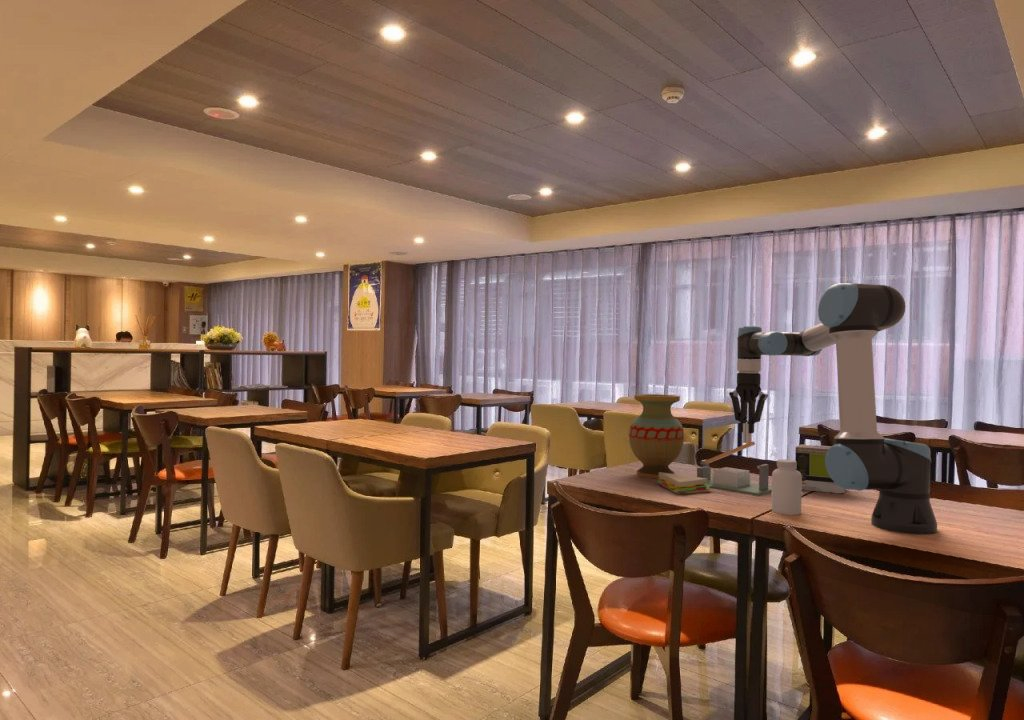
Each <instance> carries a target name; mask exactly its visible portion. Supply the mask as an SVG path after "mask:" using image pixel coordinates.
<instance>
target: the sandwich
mask: <svg viewBox="0 0 1024 720" xmlns="http://www.w3.org/2000/svg"><path fill="white" fill-rule="evenodd" d="M657 482H658V484H659V485H661V487H662V486H663V487H664V488H666V489H668V490H670V491H672V492H673V493H675V494H677V495H681V494H693V493H705V492H710V489H708V488H710V487H711V485H707V483H708V479H707V478H700V477H697V476H691V475H683V474H676V473H675V474H669V473H662V472H659V478H658V480H657Z"/></svg>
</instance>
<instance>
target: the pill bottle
mask: <svg viewBox="0 0 1024 720" xmlns="http://www.w3.org/2000/svg"><path fill="white" fill-rule="evenodd" d="M796 466H797V462H796V461H795V460H793V459H777V460H776V467H777V468H775V469H774V470H773V471H772V473H771V486H772V492H771V511H772V512H773V513H776V514H779V515H785V516H787V515H788V516H798V515H801V514H802V498H803V497H802V495H803V494H802V491H803V489H802V475H801V473H800V472H799V471H797V470H796V469H797V467H796Z"/></svg>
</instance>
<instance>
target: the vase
mask: <svg viewBox="0 0 1024 720" xmlns="http://www.w3.org/2000/svg"><path fill="white" fill-rule="evenodd" d="M680 397H681V396H680V395H677V394H676V395H673V394H653V393H651V394H650V393H648V394H647V393H641V394H640V393H639V394H634V397H633V398H634V400H635V401H638V402H639V403H640V404H641V405H642V411H641V413H640V415H638V416H637V417H636V418H635V419H634V420H633V421H631V423H630V426H629V429H628V442H629V445H630V449H631V450H632V453H633V455H634V456H635V457H636V458H637V459H638V461H640V463H641V464H642V467H640V468H638V469H637V470H636V475H637V476H639V477H643V478H649V479H659V472H662V473H669V474H676V472H675V471H673V470H672V469H671V468H669V466H670V465H671V464H672V463H673V462H674V461H675V460H676V459H677V458H678V457H679V455H680V454H681V452H682V449H683V445H684V442H685V440H684V439H685V431H684V430H685V429H684V427H683V425H682V423H681V422H680V421H679V420H678V419H677V418H676V417H675V416H674V415H673V414H672V410H671V409H672V405H674V404H676V403H678V402H681V401H680V400H681V398H680Z"/></svg>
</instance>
